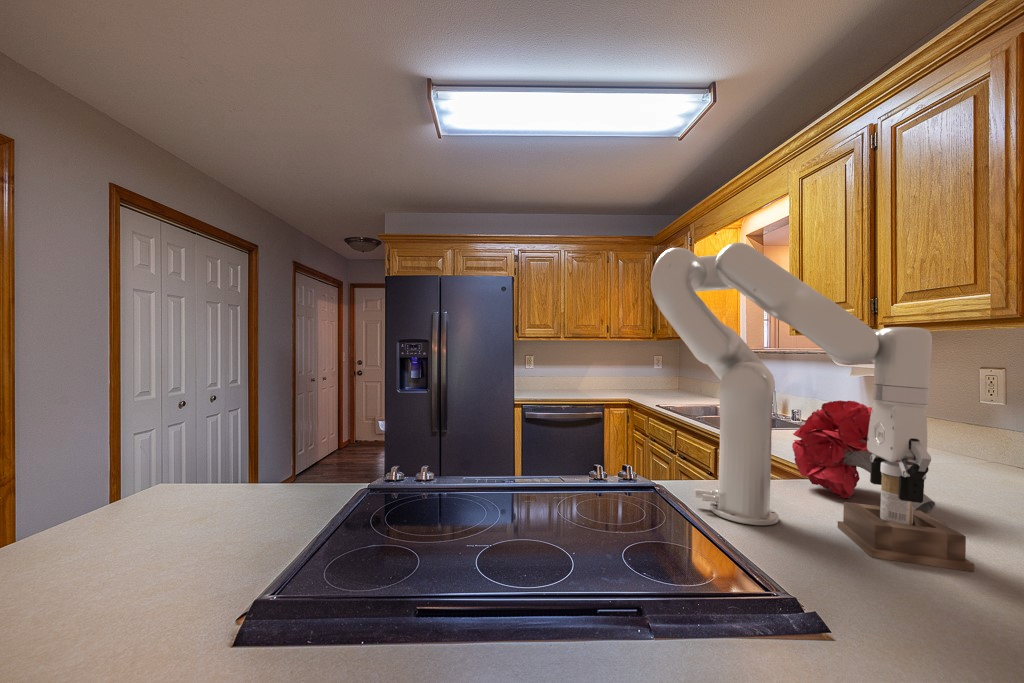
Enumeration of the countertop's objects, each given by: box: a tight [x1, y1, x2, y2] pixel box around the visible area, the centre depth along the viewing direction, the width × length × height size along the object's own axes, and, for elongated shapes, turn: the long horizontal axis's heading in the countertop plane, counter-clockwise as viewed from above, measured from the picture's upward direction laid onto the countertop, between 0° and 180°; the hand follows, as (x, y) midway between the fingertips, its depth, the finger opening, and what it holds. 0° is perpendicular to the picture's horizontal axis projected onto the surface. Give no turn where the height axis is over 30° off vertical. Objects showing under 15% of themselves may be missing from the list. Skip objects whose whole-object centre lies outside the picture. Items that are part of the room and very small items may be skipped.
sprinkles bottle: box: [880, 461, 913, 525], centre depth 79 cm, size 5×5×14 cm
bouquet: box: [791, 400, 936, 515], centre depth 106 cm, size 22×24×30 cm
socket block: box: [837, 501, 975, 573], centre depth 79 cm, size 14×14×5 cm
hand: (894, 492), depth 79 cm, fingers open, 9 cm apart
